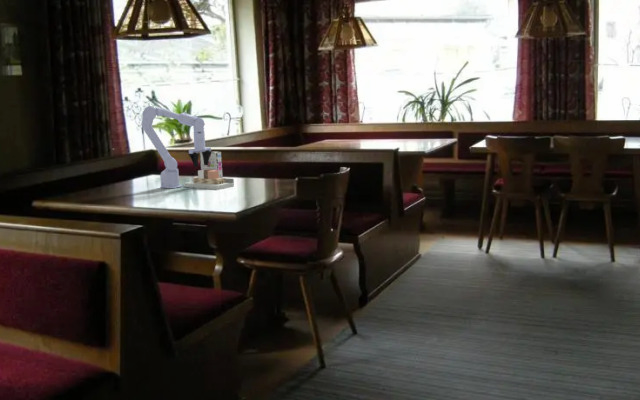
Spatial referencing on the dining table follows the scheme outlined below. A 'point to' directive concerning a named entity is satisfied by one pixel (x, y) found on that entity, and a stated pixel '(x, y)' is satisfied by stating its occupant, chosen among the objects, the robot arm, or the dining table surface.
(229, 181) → the dock
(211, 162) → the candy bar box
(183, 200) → the dining table surface
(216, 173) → the salmon pink cube
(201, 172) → the white cube
